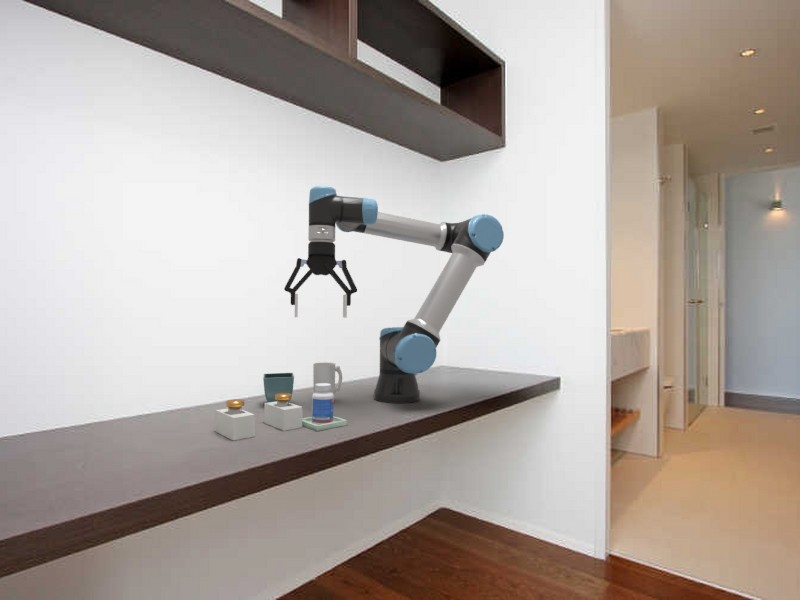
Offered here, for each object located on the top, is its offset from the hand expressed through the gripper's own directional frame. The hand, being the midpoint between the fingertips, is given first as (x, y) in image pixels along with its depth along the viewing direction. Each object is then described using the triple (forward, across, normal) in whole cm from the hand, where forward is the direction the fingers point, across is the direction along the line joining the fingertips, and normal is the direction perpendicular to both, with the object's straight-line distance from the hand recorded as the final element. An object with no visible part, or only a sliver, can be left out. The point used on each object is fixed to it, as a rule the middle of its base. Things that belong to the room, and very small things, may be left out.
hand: (320, 317), depth 132 cm
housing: (+27, -15, -16) cm, 35 cm away
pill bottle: (+26, 0, -14) cm, 30 cm away
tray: (+27, 0, -14) cm, 30 cm away
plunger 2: (+26, -10, -12) cm, 31 cm away
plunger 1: (+26, -21, -19) cm, 38 cm away
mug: (+27, +4, +14) cm, 30 cm away
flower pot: (+27, -12, +12) cm, 32 cm away
